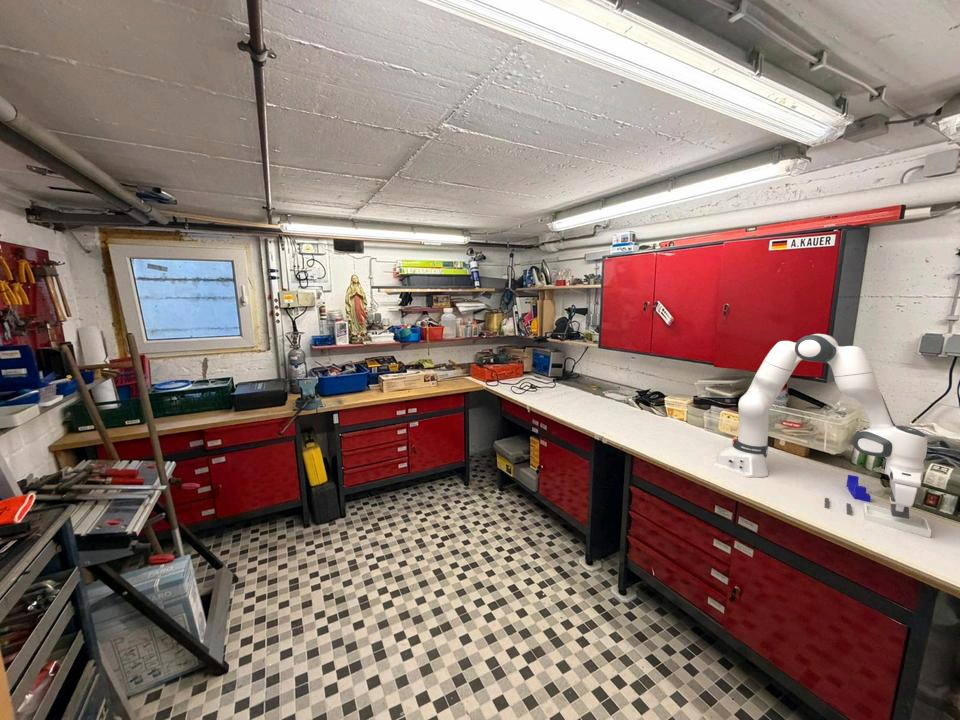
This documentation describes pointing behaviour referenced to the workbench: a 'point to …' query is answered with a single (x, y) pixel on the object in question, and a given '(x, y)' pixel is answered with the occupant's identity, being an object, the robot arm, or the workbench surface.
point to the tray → (897, 520)
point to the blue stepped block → (857, 489)
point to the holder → (848, 506)
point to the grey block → (894, 512)
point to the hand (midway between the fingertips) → (898, 507)
